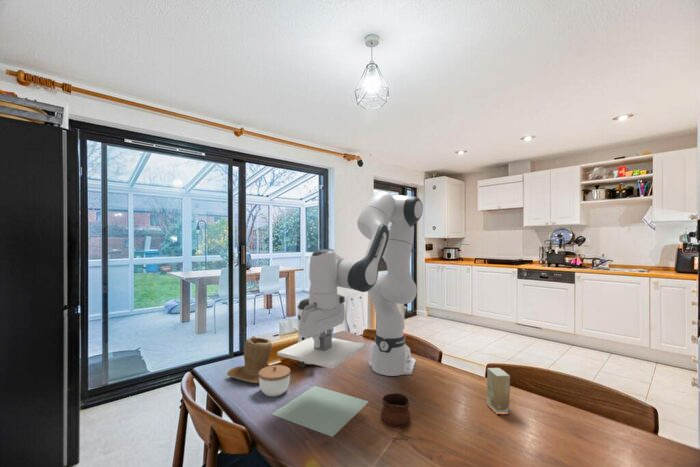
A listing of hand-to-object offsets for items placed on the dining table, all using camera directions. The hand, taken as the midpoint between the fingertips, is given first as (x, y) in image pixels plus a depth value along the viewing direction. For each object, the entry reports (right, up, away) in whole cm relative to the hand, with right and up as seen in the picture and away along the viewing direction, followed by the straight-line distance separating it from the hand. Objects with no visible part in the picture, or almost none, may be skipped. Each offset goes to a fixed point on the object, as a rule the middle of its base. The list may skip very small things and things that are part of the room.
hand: (323, 344), depth 102 cm
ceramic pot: (+22, -21, -7) cm, 31 cm away
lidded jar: (-18, -20, +10) cm, 29 cm away
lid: (0, -2, 0) cm, 2 cm away
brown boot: (-29, -21, +22) cm, 42 cm away
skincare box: (+55, -21, 0) cm, 59 cm away
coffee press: (-7, -21, +36) cm, 42 cm away
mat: (0, -20, 0) cm, 20 cm away
